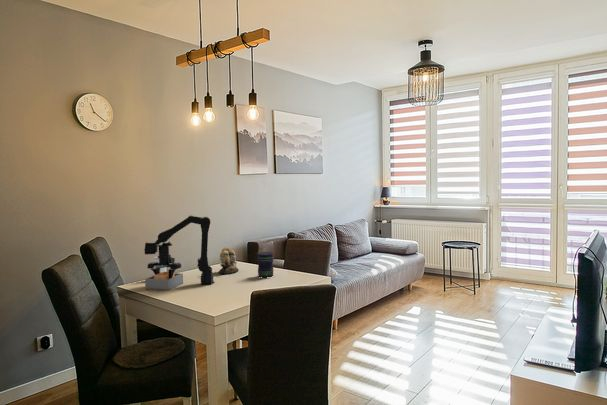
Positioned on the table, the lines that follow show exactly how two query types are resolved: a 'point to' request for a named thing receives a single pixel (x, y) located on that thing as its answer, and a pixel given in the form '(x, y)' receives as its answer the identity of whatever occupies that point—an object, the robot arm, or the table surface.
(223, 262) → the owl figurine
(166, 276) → the orange crate
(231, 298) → the table surface
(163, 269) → the syrup box
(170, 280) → the grey crate
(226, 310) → the table surface
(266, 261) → the storage jar
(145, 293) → the table surface
